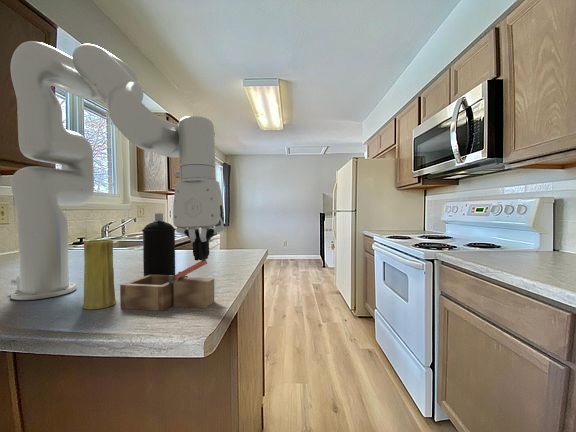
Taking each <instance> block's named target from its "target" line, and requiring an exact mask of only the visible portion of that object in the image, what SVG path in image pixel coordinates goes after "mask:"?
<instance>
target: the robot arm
mask: <svg viewBox="0 0 576 432" xmlns="http://www.w3.org/2000/svg"><path fill="white" fill-rule="evenodd" d="M9 66H10V69H9V70H10V76H11V81H12V85H13V88H14V92H15V93H14V94H15V97H16V104H17V111H16V113H17V133H18V135H17V137H18V139H17V140H18V147H19V152H21V154H22V155H23V157H25V158H27V159H30V160H33V161H37V162H41V163H46V164H47V163H48V164H53V165H54V164H55V165H59V166H61V169H60V168H54V167H47V166H46V167H45V166H36V165H34V166H26V167H25V166H24V167H22V168H20V169H18V170H16V171H15V172H14V173H13V175H12V177H11V181H10V186H11V187H10V188H11V192H12V197H13V200H14V204H15V210H16V215H17V237H18V239H17V240H18V241H17V242H18V271H19V272H18V275H19V276H16V278H13V279H11V280H10V281H9V282H10V284H11V285H16V289H15V290H14V291H12V292H11V293H10V299H12V300H15V301H31V300H33V301H34V300H41V299H48V298H53V297H59V296H63V295H66V294H69V293H72V292H74V291H75V290H77V283H74V282H70V280H69V279H70V277H69V275H70V274H69V273H70V272H69V271H70V270H69V267H70V266H69V264H70V263H69V225H68V220H67V217H66V215H65V213H64V212H63V210H62V208H61V207H60V206H66V207H67V206H69V207H70V206H73V207H75V206H83V205H85V204H87V203H88V202H90V200H91V199H92V197H93V195H94V189H95V185H94V184H95V180H94V179H95V177H94V175H95V174H94V173H95V172H94V151H93V148H92V145H91V143H90V141H89V140H88V139H87V138H86V137H85V136H84V135H82V134H80V133H78V132H76V131H73V130H68V129H66V128H65V127H64V124H63V122H64V121H63V110H62V106H61V104H60V102H59V100H58V97H57V95H56V94H55V93H54V92H53V90H52V87H55V88H57V89H58V90H61V91H64V92H66V93H68V94H71V95H73V96H76V97H78V98H80V99H81V98H82V99H83V100H103V101H104V102H105V104H106V108H107V109H106V110H107V113H108V117H109V119H110V121H111V123H112V124H113V126H115V127H116V128H117V130H118V131H120V132H121V134H122V135H123V136H124V137H125V138H126V139H127V140H128V141H129V142H130V143H131V144H132V145H134V146H136V147H138V149H141V150H144V151H147V152H151V153H154V154H158V155H160V156H164V157H168V158H172V159H174V158H178V159H179V163H178V164H179V168H178V171H175V173H174V177H175V178H177V179H179V181H177V182H176V184H175V188H174V195H173V206H172V207H173V208H172V222H173V227H174V228H175V229H176V230H175V232H176V233H178V234H182V235H185V236H186V237H187V238H188V239H189V241H190V243H192V255H193V257H194V261H202V260H205V259H206V260H207V259H209V256H210V241H211V239H212V238H213V237H214V235H216V234H219V233H222V232H224V231H225V226H224V224H225V209H224V200H223V194H222V189H221V186H220V185H221V184H220V182H219V181H217V173H216V171H217V170H216V168H217V167H216V148H215V147H216V146H215V127H214V123H213V122H212V121H211V120H210V119H209V118H207V117H203V116H198V115H188V116H184V117H182V118H181V119H180V120H179V121H178V123H173V122H171V121H169V120H167V119H165V118H163V117H161V116H158V115H156V114H155V113H153V112H152V111H151V110H150V109H149V108H148V107H147V106H146V105H145V104H144V103H143V98H144V90H143V87H142V86H141V84H140V83H139V82H138V77H137V74H136V73H135V71H134V69H133V68H132V67H131V66H130V65H129V64H128V63H126V62H124V61H123V60H122V59H120V58H118V57H117V56H115V54H112V53H111V52H109V51H107V50H106V49H104V48H102V47H100V46H98V45H96V44H91V43H83V44H80V45H78V46H76V48H75V49H74V50H73V51H72V55H71V56H70V55H68V54H67V53H65V52H63V51H61V50H59V49H57V48H55V47H53V46H51V45H50V44H49V45H48V44H46V43H44V42H39V41H33V40H29V41H24V42H22V43H20V44H19V45H18V46H17V47H16V48H15V50H14V52H13V54H12V57H11V60H10V65H9ZM200 228H201V229H200Z"/></svg>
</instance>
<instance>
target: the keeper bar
mask: <svg viewBox="0 0 576 432" xmlns="http://www.w3.org/2000/svg"><path fill="white" fill-rule="evenodd" d="M207 264H208V261H207V259H205V260H199V262H196V263H195V264H193V265H191V266H189V267H187V268H186V269H184V270H182V271H179V272H180V273H178V272H177V273H175V275H174V280H177V279H179V278H181V277H183V276H188V274H191V273H193V272H195V271H197V270H198V269H200V268H202V267H204V266H206V265H207Z"/></svg>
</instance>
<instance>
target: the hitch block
mask: <svg viewBox="0 0 576 432" xmlns="http://www.w3.org/2000/svg"><path fill="white" fill-rule="evenodd" d="M180 272H181V271H178V272H177V274H178V273H180ZM188 276H189V275H185V276H183V277H181V278H179V279H177V280H174V275H151V274H150V275H147V276H144V275H143V276H141V277H139V278H136V279H132V280H129V281H128V282H125V283H122V284H119V291H120V293H119V295H120V297H119V299H120V300H119V301H120V303H119V305H120V307H119V308H120V309H128V310H144V311H146V310H147V311H159V312H160V311H161V312H163V311H166V310H167V309H169V308H171V307H172V306H173V307H175V308H176V307H178V308H193V309H194V308H196V309H206V308H208V307H210V306H211V305H212V304H214V303H215V278H210V277H209V278H208V277H207V278H205V277H188Z"/></svg>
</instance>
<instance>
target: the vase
mask: <svg viewBox="0 0 576 432" xmlns="http://www.w3.org/2000/svg"><path fill="white" fill-rule="evenodd" d="M113 243H114V242H113V240H112V239H106V238H104V239H101V238H100V239H88V240H84V241H83V256H84V258H83V259H84V266H83V274H84V276H83V304H82V308H83V309H84V310H88V311H89V310H92V311H93V310H101V309H102V310H103V309H105V308H109V307H112V306H114V305H115V304H116V303H117V300H116V289H115V278H114V277H115V275H114V273H115V272H114V271H115V270H114V249H113V247H114V246H113Z"/></svg>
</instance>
